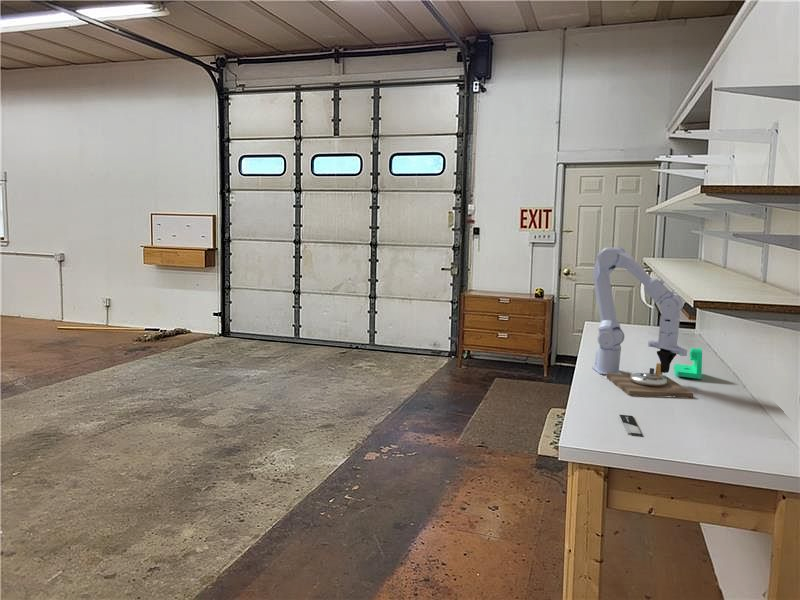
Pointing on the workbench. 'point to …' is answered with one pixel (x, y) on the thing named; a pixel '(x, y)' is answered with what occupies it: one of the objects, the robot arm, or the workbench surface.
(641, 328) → the workbench surface
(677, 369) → the camera mount
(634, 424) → the computer memory module
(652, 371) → the dowel pin
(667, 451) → the workbench surface
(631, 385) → the fixture board
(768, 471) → the workbench surface
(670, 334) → the robot arm
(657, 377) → the flange plate
